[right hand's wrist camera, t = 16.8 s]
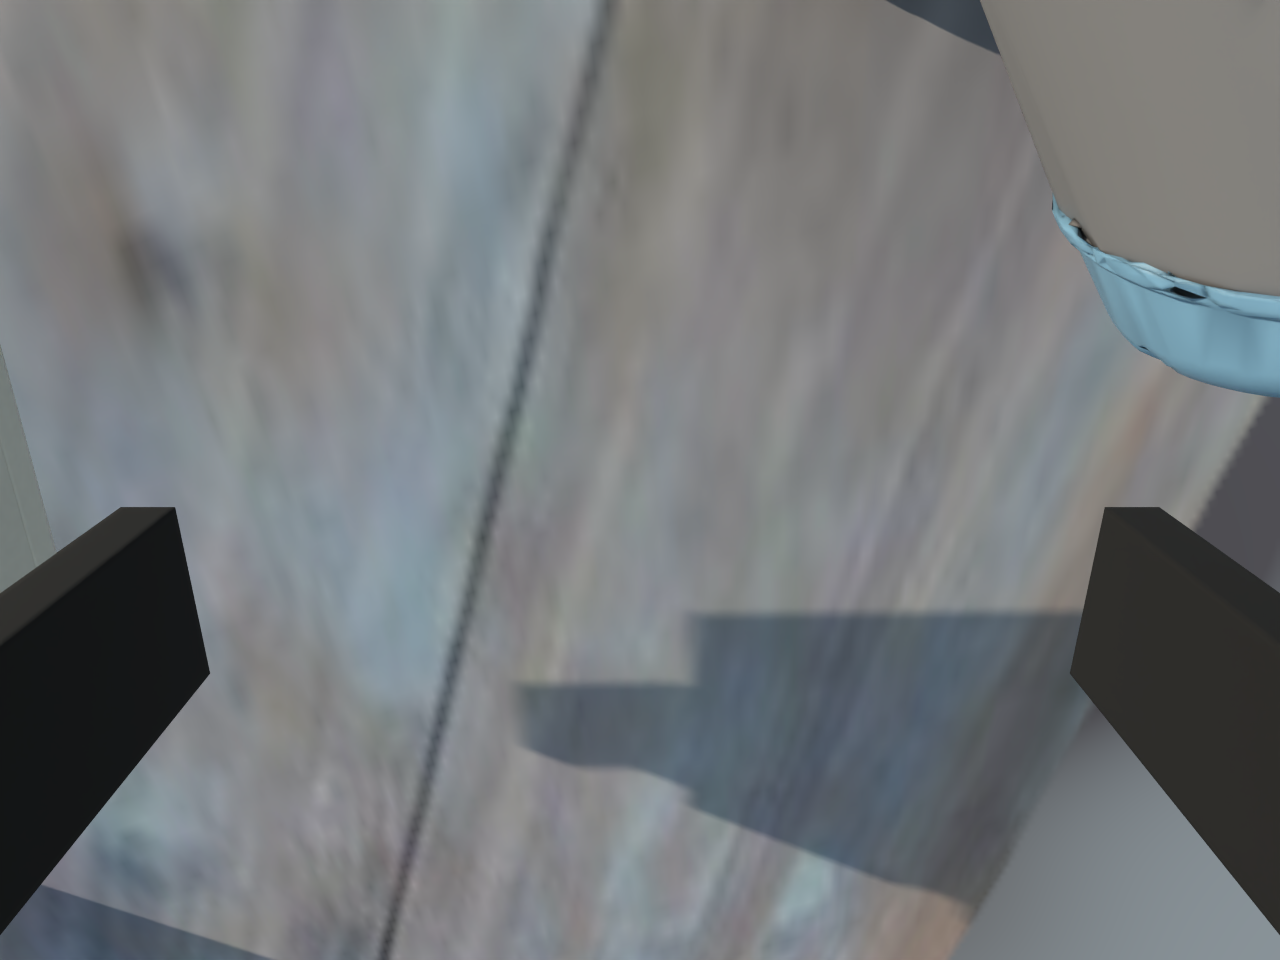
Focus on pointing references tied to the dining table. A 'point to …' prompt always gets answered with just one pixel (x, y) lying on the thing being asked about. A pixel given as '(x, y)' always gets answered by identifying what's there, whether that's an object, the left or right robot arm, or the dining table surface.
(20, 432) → the tray
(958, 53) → the dining table surface
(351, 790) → the dining table surface
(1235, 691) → the right robot arm
